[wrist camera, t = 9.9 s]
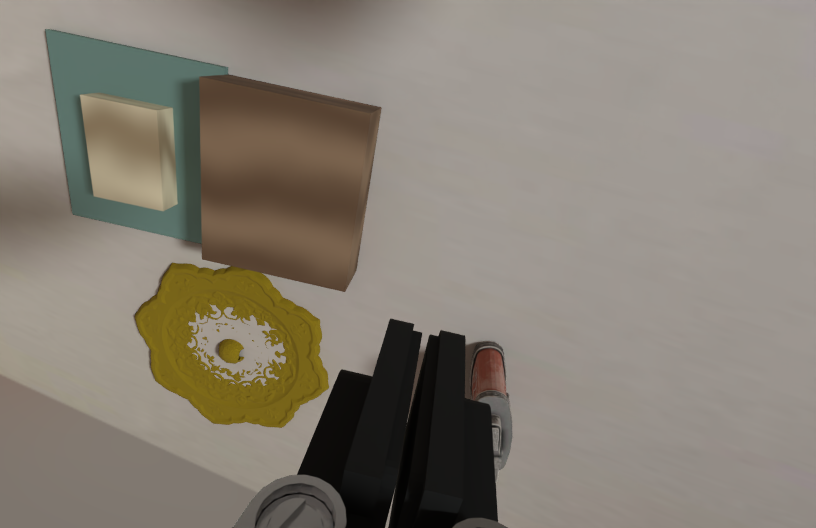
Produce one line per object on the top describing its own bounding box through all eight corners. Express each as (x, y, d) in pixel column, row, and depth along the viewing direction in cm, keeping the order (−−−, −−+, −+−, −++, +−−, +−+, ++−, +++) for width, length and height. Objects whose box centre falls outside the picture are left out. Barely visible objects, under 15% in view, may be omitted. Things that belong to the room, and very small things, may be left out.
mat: (51, 29, 34) (45, 29, 34) (227, 67, 34) (223, 67, 33) (78, 212, 41) (72, 214, 40) (226, 245, 40) (222, 248, 40)
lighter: (503, 410, 44) (512, 500, 35) (468, 408, 45) (468, 496, 36) (507, 341, 41) (518, 422, 32) (470, 340, 41) (470, 419, 32)
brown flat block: (227, 74, 34) (199, 76, 31) (381, 107, 34) (371, 113, 30) (226, 240, 40) (202, 259, 37) (356, 270, 40) (344, 292, 36)
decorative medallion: (316, 263, 41) (311, 270, 39) (336, 427, 49) (333, 438, 47) (118, 258, 43) (107, 265, 42) (170, 415, 51) (162, 425, 50)
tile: (156, 110, 33) (172, 107, 35) (79, 94, 34) (99, 92, 35) (163, 211, 37) (177, 204, 39) (93, 196, 37) (111, 189, 39)
